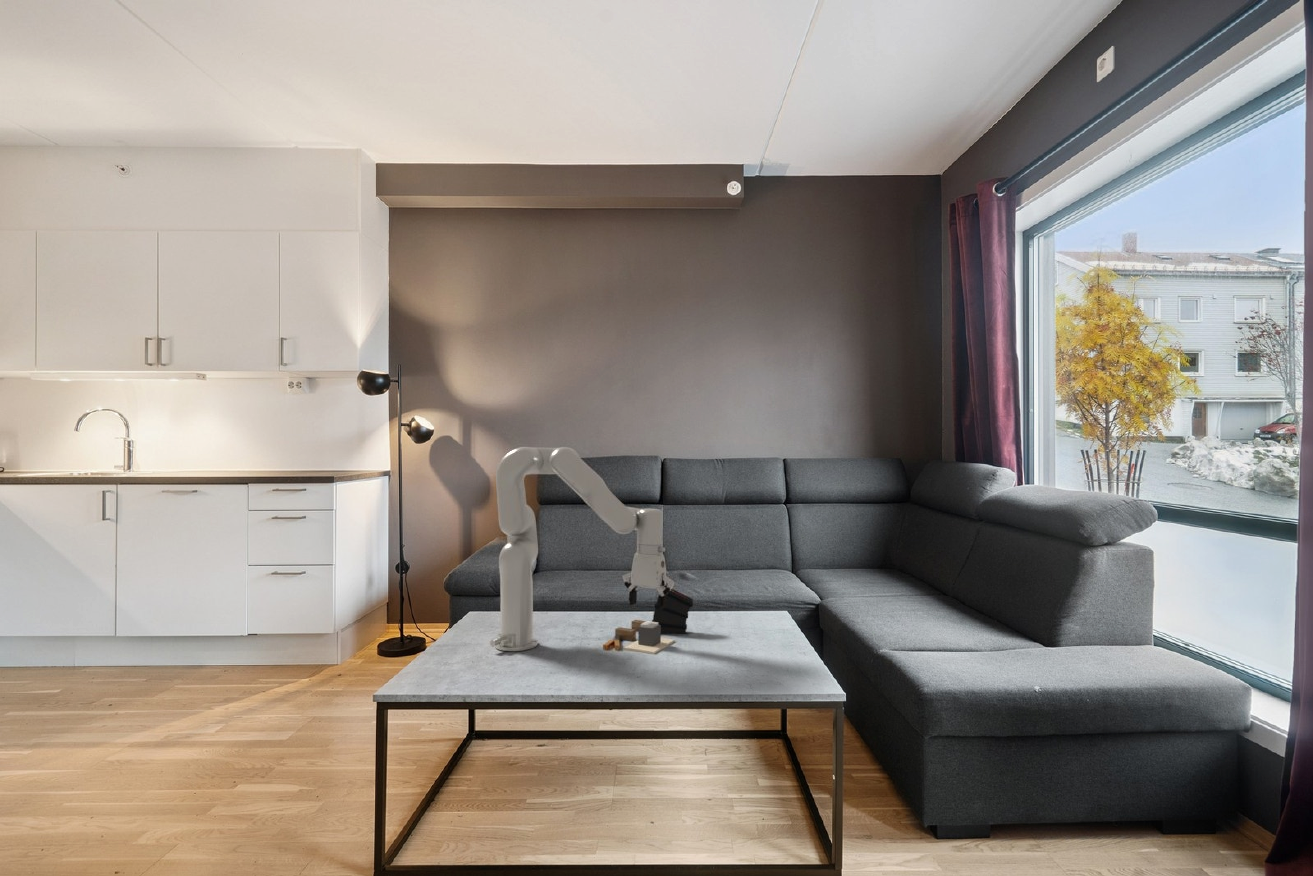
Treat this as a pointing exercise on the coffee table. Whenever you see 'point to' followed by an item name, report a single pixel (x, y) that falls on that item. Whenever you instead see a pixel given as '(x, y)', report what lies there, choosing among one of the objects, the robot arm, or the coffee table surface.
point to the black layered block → (673, 613)
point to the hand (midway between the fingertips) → (647, 606)
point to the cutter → (612, 643)
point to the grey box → (649, 634)
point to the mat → (649, 649)
